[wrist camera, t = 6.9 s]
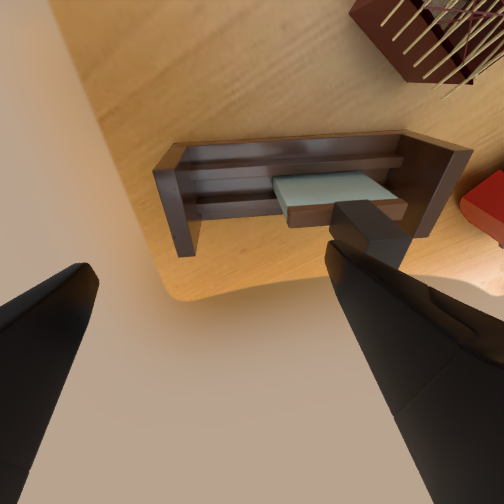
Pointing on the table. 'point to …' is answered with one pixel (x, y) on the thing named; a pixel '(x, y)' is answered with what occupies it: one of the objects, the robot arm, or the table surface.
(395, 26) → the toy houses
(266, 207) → the window frame
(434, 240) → the table surface
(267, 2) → the table surface
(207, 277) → the table surface
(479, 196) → the red toy block
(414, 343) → the robot arm
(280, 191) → the window pane
